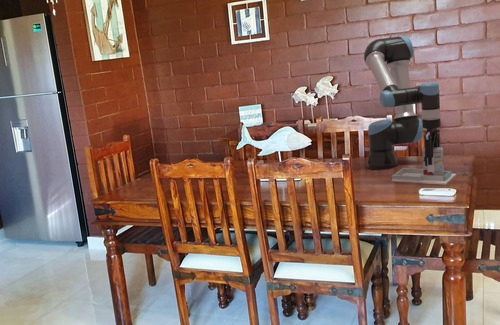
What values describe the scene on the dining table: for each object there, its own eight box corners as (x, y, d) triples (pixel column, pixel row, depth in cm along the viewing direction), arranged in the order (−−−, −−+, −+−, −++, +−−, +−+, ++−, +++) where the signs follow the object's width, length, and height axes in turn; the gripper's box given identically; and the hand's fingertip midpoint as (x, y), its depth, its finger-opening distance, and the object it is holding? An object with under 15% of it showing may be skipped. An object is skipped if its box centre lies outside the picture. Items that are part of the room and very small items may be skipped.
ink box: (423, 175, 226) (421, 150, 223) (423, 173, 230) (422, 147, 228) (443, 175, 222) (442, 149, 220) (444, 172, 227) (443, 147, 224)
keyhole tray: (404, 172, 243) (403, 167, 242) (456, 175, 228) (455, 169, 228) (391, 181, 231) (391, 176, 230) (445, 184, 216) (445, 178, 216)
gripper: (429, 115, 230) (431, 164, 235) (415, 122, 216) (417, 174, 221) (446, 114, 226) (448, 165, 231) (432, 122, 212) (435, 175, 216)
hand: (433, 169), depth 226 cm, fingers closed on ink box, 6 cm apart
